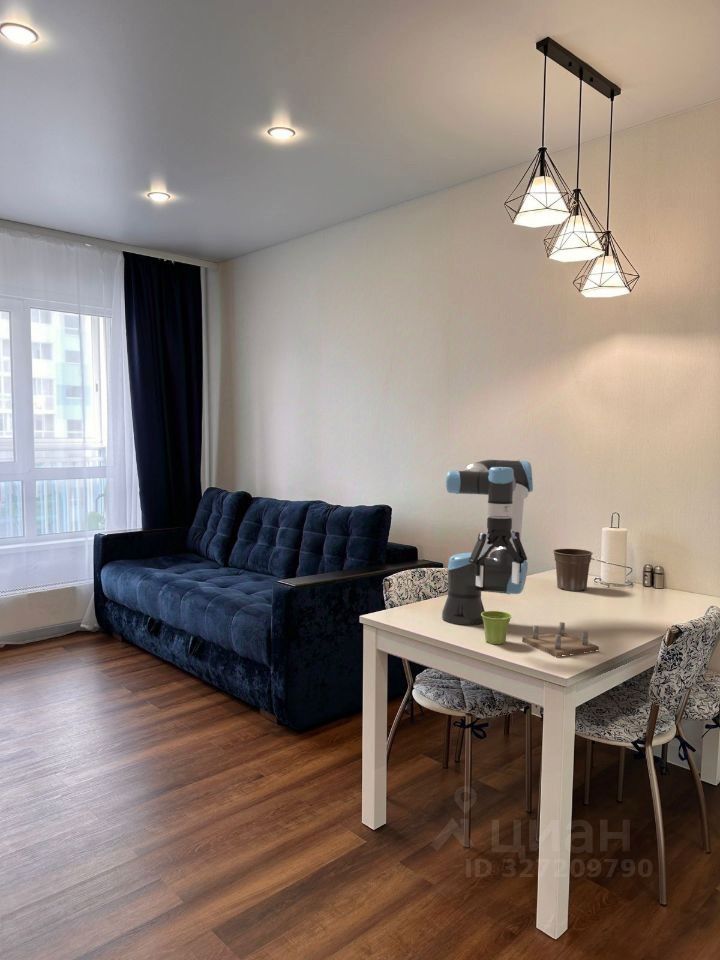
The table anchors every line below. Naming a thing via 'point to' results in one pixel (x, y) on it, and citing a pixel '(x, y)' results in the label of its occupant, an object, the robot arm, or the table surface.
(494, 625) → the plant pot
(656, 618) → the table surface
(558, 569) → the plant pot
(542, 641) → the stand
